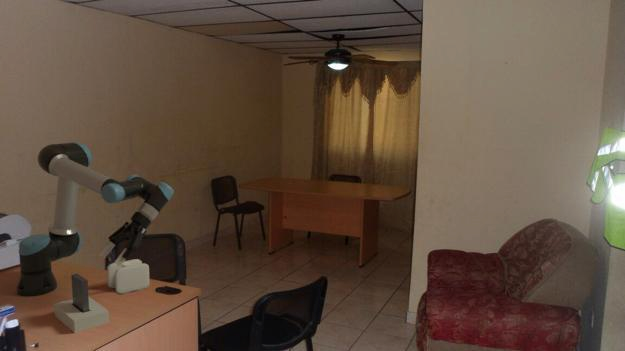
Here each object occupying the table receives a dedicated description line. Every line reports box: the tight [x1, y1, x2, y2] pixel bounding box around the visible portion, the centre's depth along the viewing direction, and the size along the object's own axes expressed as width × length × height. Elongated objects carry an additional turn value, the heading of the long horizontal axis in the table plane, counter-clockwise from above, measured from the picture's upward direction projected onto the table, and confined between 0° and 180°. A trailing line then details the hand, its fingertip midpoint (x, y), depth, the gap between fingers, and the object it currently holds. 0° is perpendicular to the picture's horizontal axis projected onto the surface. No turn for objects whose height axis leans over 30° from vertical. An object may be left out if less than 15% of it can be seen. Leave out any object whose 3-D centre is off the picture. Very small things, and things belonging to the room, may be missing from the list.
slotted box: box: [53, 295, 110, 334], centre depth 174 cm, size 20×12×6 cm, turn 47°
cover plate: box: [71, 273, 89, 313], centre depth 173 cm, size 10×2×16 cm, turn 47°
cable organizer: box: [106, 258, 150, 295], centre depth 207 cm, size 15×11×12 cm
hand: (108, 260), depth 179 cm, fingers open, 13 cm apart
